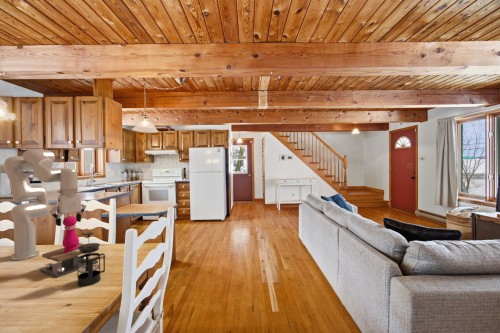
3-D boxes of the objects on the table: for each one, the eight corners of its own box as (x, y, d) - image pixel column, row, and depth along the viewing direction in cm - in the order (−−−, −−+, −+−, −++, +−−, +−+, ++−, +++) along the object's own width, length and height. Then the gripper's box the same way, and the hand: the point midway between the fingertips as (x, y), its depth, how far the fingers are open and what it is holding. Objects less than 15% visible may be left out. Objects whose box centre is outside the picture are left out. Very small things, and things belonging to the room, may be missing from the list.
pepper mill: (71, 253, 126) (69, 215, 125) (59, 252, 127) (57, 215, 126) (82, 248, 133) (81, 212, 132) (71, 247, 134) (69, 212, 134)
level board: (42, 257, 126) (42, 252, 126) (79, 245, 142) (79, 241, 142) (58, 262, 119) (58, 257, 119) (95, 249, 136) (95, 244, 136)
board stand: (39, 271, 125) (39, 259, 125) (80, 257, 143) (80, 246, 143) (57, 277, 118) (56, 264, 118) (97, 262, 137) (97, 251, 136)
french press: (76, 289, 108) (75, 237, 108) (74, 281, 115) (73, 233, 115) (106, 280, 116) (106, 232, 115) (102, 273, 123) (102, 228, 122)
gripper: (54, 194, 121) (54, 228, 121) (89, 190, 137) (89, 220, 137) (46, 193, 124) (46, 226, 125) (81, 189, 140) (81, 219, 140)
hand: (68, 223), depth 131 cm, fingers open, 9 cm apart
